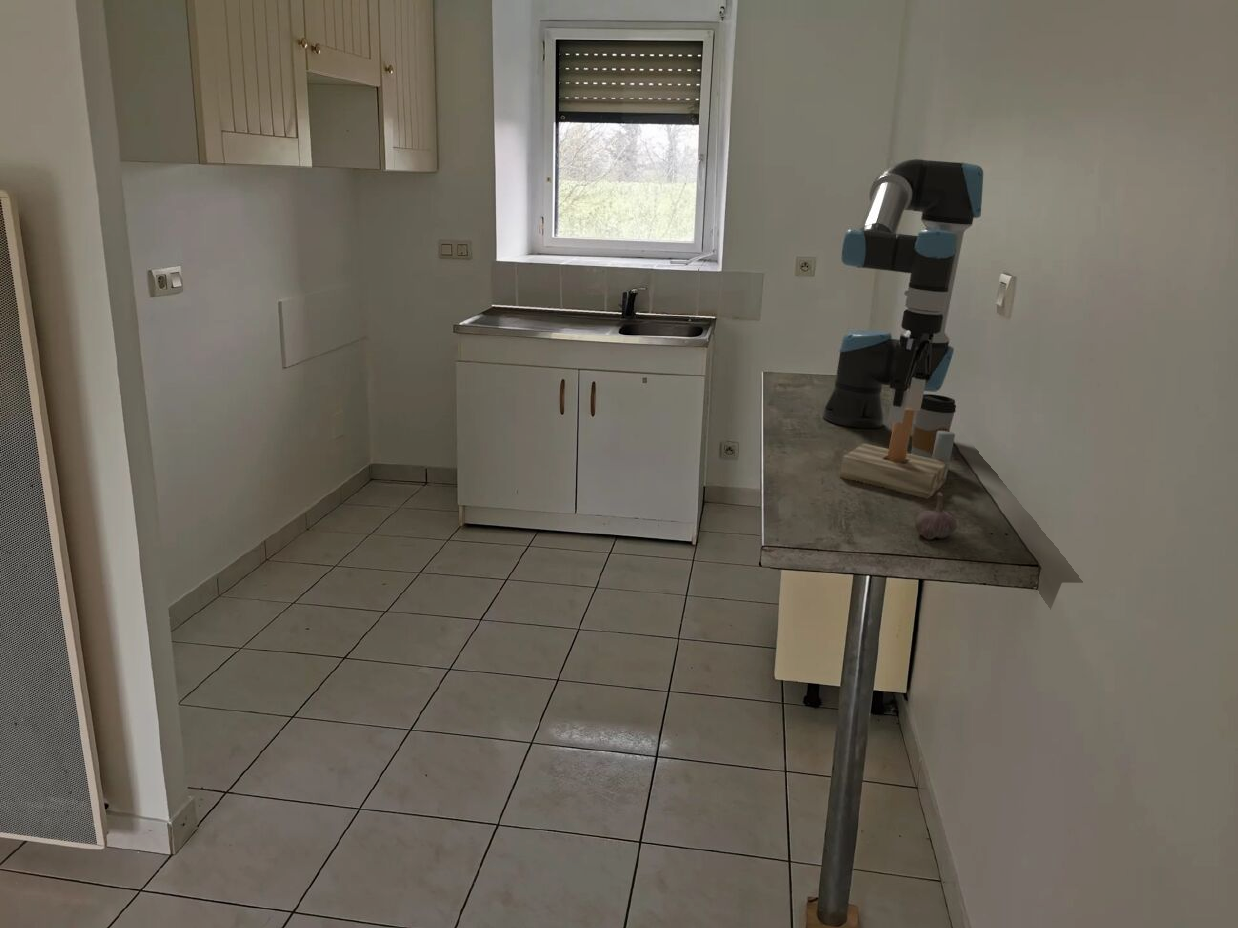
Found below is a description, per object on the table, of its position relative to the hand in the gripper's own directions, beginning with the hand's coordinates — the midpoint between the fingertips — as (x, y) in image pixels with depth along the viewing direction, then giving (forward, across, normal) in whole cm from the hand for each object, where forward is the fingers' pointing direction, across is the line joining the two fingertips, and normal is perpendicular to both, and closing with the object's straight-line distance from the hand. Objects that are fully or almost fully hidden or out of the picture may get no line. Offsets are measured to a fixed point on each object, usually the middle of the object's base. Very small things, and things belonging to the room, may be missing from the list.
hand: (904, 415), depth 194 cm
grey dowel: (+14, -8, +7) cm, 18 cm away
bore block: (+14, +1, 0) cm, 14 cm away
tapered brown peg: (+13, +1, 0) cm, 13 cm away
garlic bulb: (+13, +29, +15) cm, 35 cm away
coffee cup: (+14, -18, +2) cm, 23 cm away
